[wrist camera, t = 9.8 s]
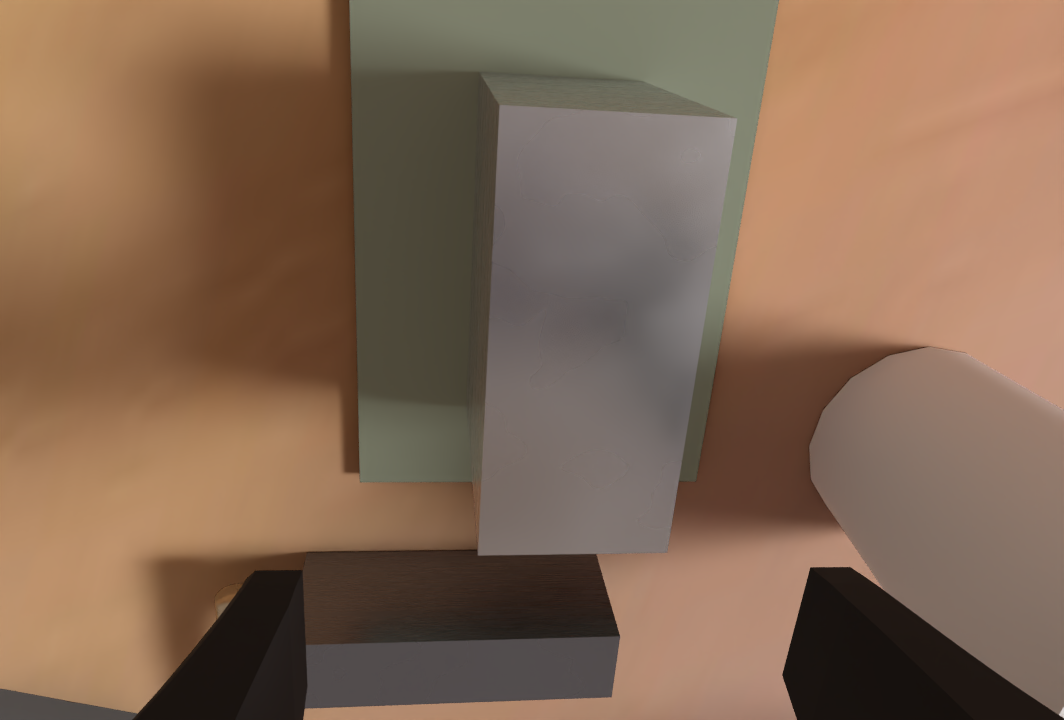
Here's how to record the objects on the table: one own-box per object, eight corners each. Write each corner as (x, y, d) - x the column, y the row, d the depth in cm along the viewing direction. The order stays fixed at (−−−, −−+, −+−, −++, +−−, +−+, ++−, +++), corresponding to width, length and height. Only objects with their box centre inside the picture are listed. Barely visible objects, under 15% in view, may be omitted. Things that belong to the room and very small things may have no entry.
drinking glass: (812, 335, 21) (1096, 588, 12) (1049, 328, 22) (1486, 562, 13) (778, 545, 24) (988, 880, 15) (989, 532, 25) (1314, 845, 15)
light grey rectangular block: (644, 81, 18) (737, 118, 12) (606, 408, 21) (667, 552, 15) (479, 71, 17) (499, 105, 12) (466, 407, 20) (477, 556, 15)
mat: (780, -51, 17) (787, -51, 17) (691, 473, 22) (696, 481, 22) (349, -87, 16) (347, -89, 16) (361, 474, 21) (359, 482, 21)
